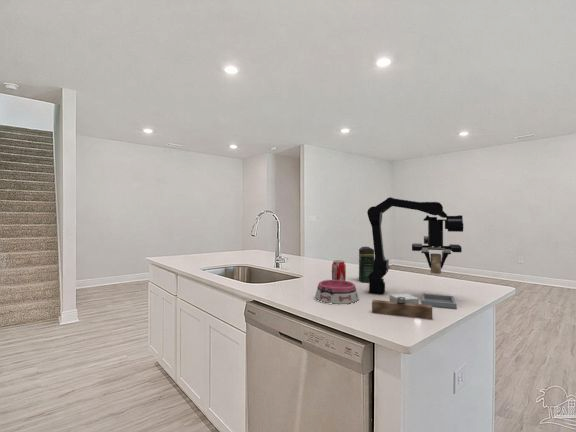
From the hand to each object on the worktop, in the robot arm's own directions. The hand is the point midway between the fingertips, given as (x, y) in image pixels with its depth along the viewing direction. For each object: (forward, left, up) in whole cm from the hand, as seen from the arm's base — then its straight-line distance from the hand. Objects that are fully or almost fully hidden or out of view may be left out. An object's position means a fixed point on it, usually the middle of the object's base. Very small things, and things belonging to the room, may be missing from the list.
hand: (435, 268), depth 130 cm
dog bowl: (-39, -15, -14) cm, 44 cm away
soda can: (-45, +12, -13) cm, 48 cm away
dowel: (0, 0, -2) cm, 2 cm away
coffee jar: (-33, +26, -13) cm, 44 cm away
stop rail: (-13, -28, -13) cm, 33 cm away
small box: (-12, -21, -13) cm, 27 cm away
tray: (0, -8, -13) cm, 15 cm away
